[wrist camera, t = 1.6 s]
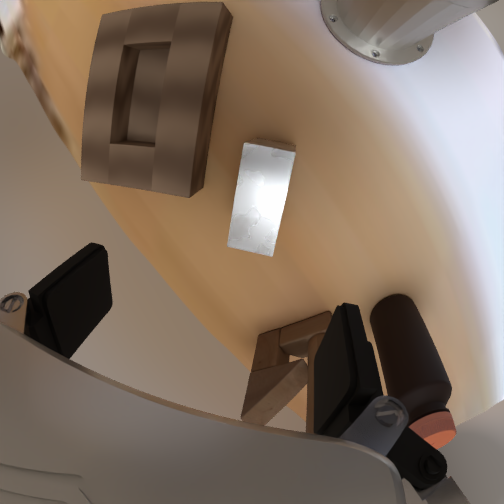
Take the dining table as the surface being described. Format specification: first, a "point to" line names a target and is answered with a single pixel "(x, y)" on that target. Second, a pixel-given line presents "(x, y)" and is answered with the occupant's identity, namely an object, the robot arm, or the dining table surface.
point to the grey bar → (260, 195)
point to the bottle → (413, 368)
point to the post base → (154, 96)
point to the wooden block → (284, 370)
